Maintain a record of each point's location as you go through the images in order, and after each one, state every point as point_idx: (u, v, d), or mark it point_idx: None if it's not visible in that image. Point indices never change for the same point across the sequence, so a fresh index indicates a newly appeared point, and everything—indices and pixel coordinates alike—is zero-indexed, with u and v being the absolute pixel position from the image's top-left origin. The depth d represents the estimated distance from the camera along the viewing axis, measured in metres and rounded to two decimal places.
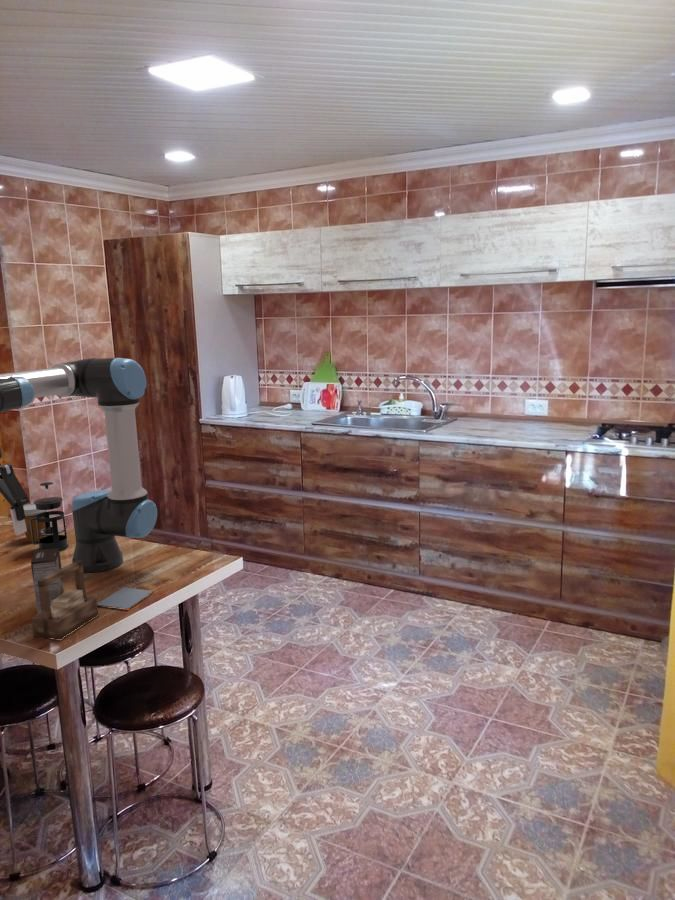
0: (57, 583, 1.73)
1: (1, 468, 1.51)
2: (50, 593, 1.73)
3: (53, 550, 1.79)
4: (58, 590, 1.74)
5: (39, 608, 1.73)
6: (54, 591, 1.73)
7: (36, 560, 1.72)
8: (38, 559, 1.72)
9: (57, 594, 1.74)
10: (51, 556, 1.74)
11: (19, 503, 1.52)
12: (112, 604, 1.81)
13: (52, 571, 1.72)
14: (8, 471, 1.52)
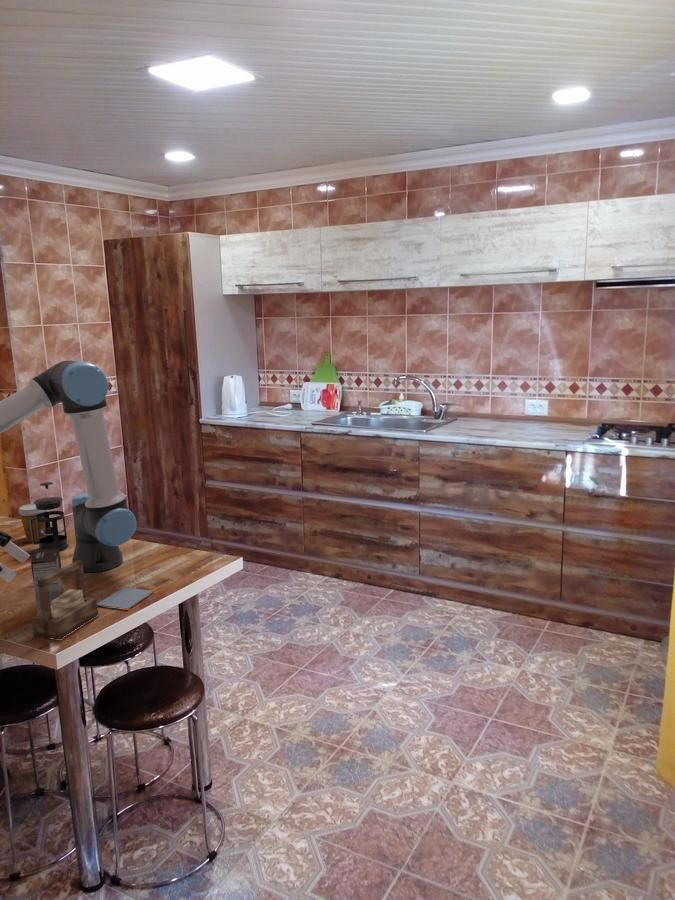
0: (57, 583, 1.73)
1: None
2: (50, 593, 1.73)
3: (53, 550, 1.79)
4: (58, 590, 1.74)
5: (39, 608, 1.73)
6: (54, 591, 1.73)
7: (36, 560, 1.72)
8: (38, 559, 1.72)
9: (57, 594, 1.74)
10: (51, 556, 1.74)
11: None
12: (112, 604, 1.81)
13: (52, 571, 1.72)
14: None
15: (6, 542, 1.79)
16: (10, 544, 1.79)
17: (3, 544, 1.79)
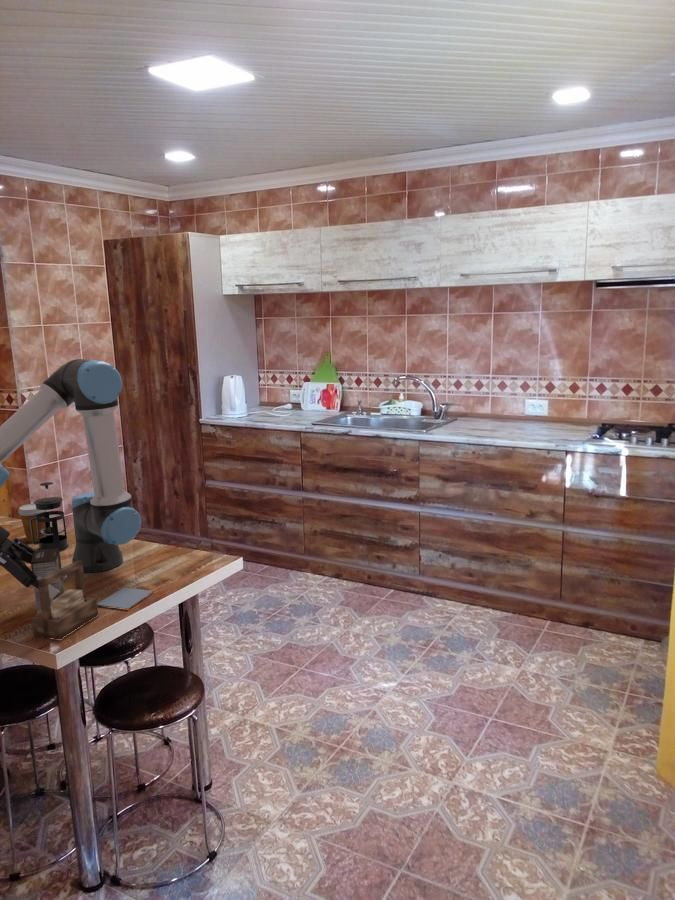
0: (57, 583, 1.73)
1: None
2: None
3: (53, 550, 1.79)
4: None
5: (39, 608, 1.73)
6: None
7: (36, 560, 1.72)
8: (38, 559, 1.72)
9: (57, 594, 1.74)
10: (51, 556, 1.74)
11: None
12: (112, 604, 1.81)
13: (52, 571, 1.72)
14: (3, 561, 1.67)
15: None
16: None
17: None
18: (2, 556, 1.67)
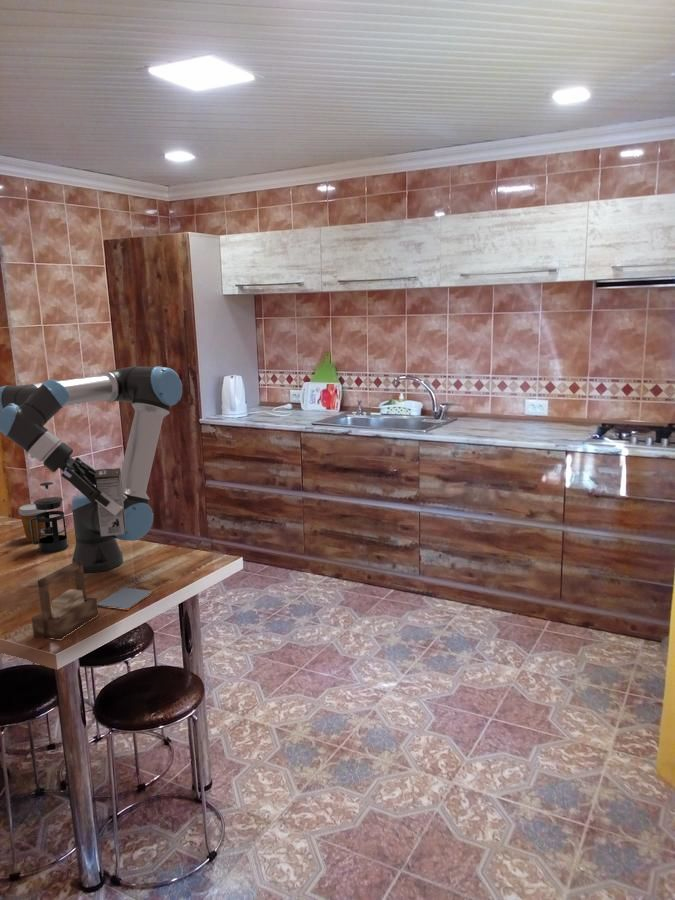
0: (120, 500, 1.75)
1: (62, 475, 1.69)
2: None
3: (114, 469, 1.80)
4: None
5: (102, 524, 1.75)
6: None
7: (100, 476, 1.73)
8: (101, 475, 1.73)
9: (119, 511, 1.75)
10: (113, 473, 1.76)
11: (89, 499, 1.70)
12: (112, 604, 1.81)
13: (115, 487, 1.74)
14: (68, 475, 1.69)
15: None
16: None
17: None
18: (68, 470, 1.68)
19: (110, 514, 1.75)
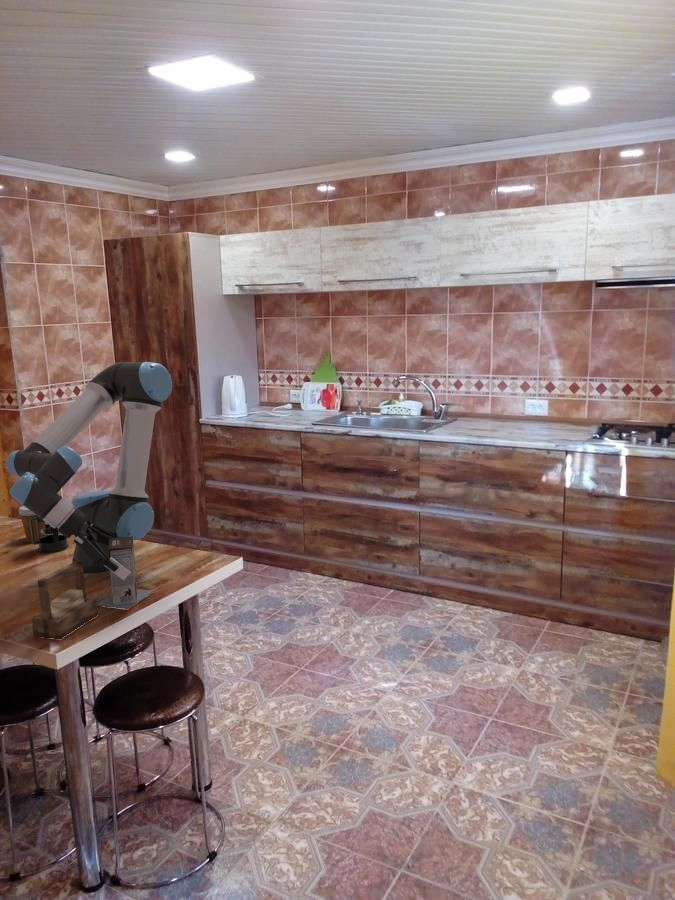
0: (132, 570, 1.79)
1: (74, 541, 1.73)
2: (125, 579, 1.79)
3: (127, 538, 1.85)
4: (133, 576, 1.80)
5: (114, 594, 1.79)
6: (129, 577, 1.80)
7: (113, 547, 1.78)
8: (115, 546, 1.78)
9: (132, 580, 1.80)
10: (126, 544, 1.80)
11: (98, 565, 1.72)
12: (112, 604, 1.81)
13: (128, 558, 1.79)
14: (80, 541, 1.73)
15: None
16: None
17: None
18: (80, 536, 1.73)
19: (123, 584, 1.79)
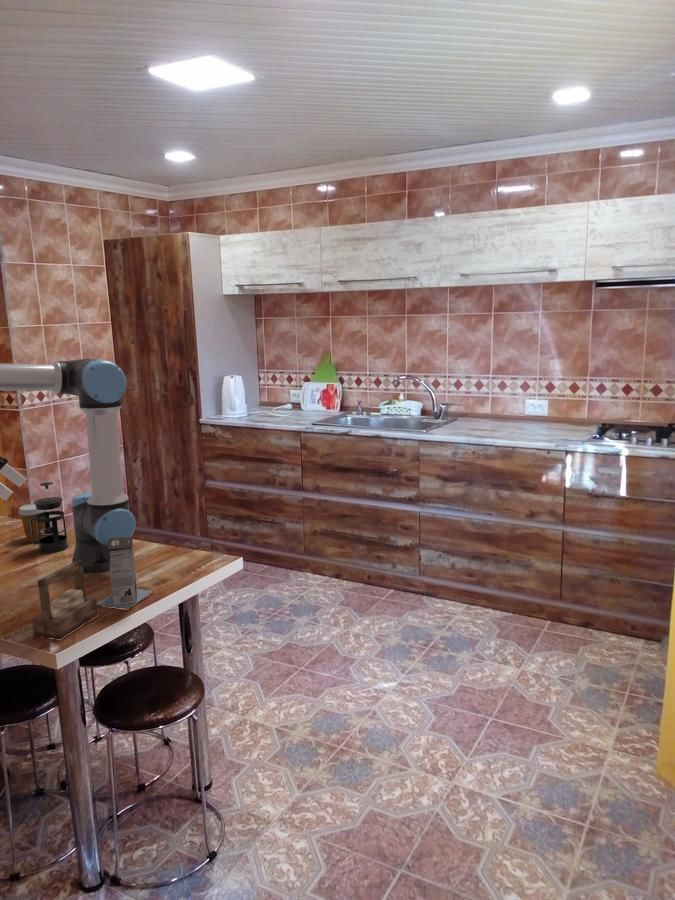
0: (132, 570, 1.79)
1: None
2: (125, 579, 1.79)
3: (126, 538, 1.85)
4: (133, 577, 1.80)
5: (114, 594, 1.79)
6: (129, 577, 1.80)
7: (113, 547, 1.78)
8: (114, 547, 1.78)
9: (131, 581, 1.80)
10: (126, 544, 1.80)
11: None
12: (112, 604, 1.81)
13: (127, 558, 1.78)
14: None
15: (2, 465, 1.77)
16: (6, 467, 1.76)
17: None
18: None
19: (122, 584, 1.79)
